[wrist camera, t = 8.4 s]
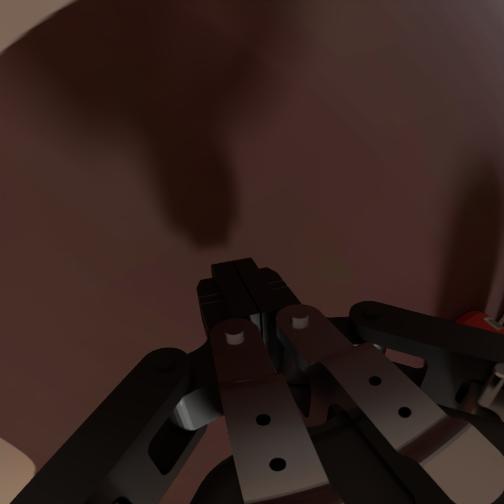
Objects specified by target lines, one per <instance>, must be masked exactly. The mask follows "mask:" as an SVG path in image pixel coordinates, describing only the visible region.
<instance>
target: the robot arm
mask: <svg viewBox="0 0 504 504" xmlns="http://www.w3.org/2000/svg"><path fill="white" fill-rule="evenodd" d="M211 271H212V278H209V279H203V280H200V282H199V284H198V286H197V294H198V300H199V305H200V311H201V316H202V322H203V325H204V329H205V333H206V336H207V340H206V342H205V343H204V344H203V345H202V346H201V347H200V348H198V349H197V350H195V351H193V352H191V353H189V354H186V353H185V352H184V351H182V350H180V349H177V348H161V349H157V350H154V351H152V352H150V353H149V354H147V355H146V356H145V357H144V358H143V359H142V360H141V361H140V362H139V363H138V364H137V365H136V366H135V367H134V369H133V370H132V371H131V372H130V373H129V374H128V375H127V376H126V377H125V378H124V379H123V380H122V381H121V383H120V384H119V385H118V386H117V387H116V388H115V389H114V390H113V391H112V392H111V393H110V394H109V396H108V397H107V398H106V399H105V400H104V401H103V402H102V403H101V404H100V405H99V406H98V407H97V409H96V410H95V411H94V412H93V413H92V414H91V415H90V416H89V417H88V418H87V419H86V420H85V422H84V423H83V424H82V425H81V426H80V427H79V428H78V429H77V430H76V431H75V432H74V434H73V435H72V436H71V437H70V438H69V439H68V440H67V441H66V442H65V443H64V444H63V445H62V447H61V448H60V449H59V450H58V451H57V452H56V453H55V454H54V455H53V456H52V458H51V459H50V460H49V461H48V462H47V463H46V464H45V465H44V466H43V467H42V468H41V470H40V471H39V472H38V473H37V474H36V475H35V476H34V477H33V478H32V479H31V481H30V482H29V483H28V484H27V485H26V486H25V487H24V488H23V489H22V491H21V492H20V493H19V494H18V495H17V496H16V497H15V498H14V499H13V501H12V502H11V503H10V504H158V503H159V502H160V500H161V499H162V497H163V496H164V494H165V493H166V491H167V490H168V488H169V487H170V485H171V484H172V482H173V481H174V479H175V478H176V476H177V475H178V473H179V472H180V470H181V469H182V467H183V466H184V464H185V463H186V461H187V460H188V458H189V457H190V455H191V453H192V452H193V450H194V449H195V447H196V446H197V444H198V442H199V441H200V439H201V438H202V436H203V435H204V433H205V431H206V429H207V424H208V423H210V422H212V421H214V420H216V419H217V418H219V417H221V416H223V415H224V416H225V421H226V426H227V430H228V435H229V440H230V444H231V449H232V453H233V455H231V456H229V457H228V458H226V459H225V460H223V461H222V462H221V463H219V464H218V465H217V466H216V467H214V468H213V469H212V470H211V471H210V472H209V473H208V475H207V476H206V477H205V479H204V480H203V481H202V483H201V485H200V486H199V488H198V490H197V492H196V493H195V495H194V497H193V499H192V501H191V502H190V504H504V334H501V333H497V332H493V331H489V330H485V329H481V328H477V327H473V326H469V325H465V324H461V323H457V322H453V321H449V320H445V319H441V318H437V317H433V316H429V315H425V314H421V313H418V312H414V311H410V310H406V309H402V308H398V307H395V306H391V305H387V304H383V303H379V302H375V301H363V302H359V303H357V304H355V305H353V306H352V307H351V309H350V312H349V317H334V318H328V317H325V316H324V315H323V314H322V313H321V312H320V311H319V310H318V309H316V308H315V307H312V306H309V305H304V304H301V303H300V301H299V300H298V299H297V297H296V296H295V295H294V294H293V292H292V291H291V290H290V288H289V287H287V285H286V283H285V282H284V281H283V280H282V278H281V277H280V276H279V274H278V273H277V272H275V271H273V270H271V269H269V268H267V267H266V268H261V269H259V268H258V267H257V265H256V264H255V262H254V261H253V259H252V258H251V257H250V258H245V259H239V260H234V261H229V262H223V263H218V264H212V265H211ZM386 348H389V349H392V350H396V351H399V352H403V353H406V354H410V355H413V356H417V357H420V358H423V359H424V360H425V361H426V362H427V364H426V365H425V366H424V367H422V368H413V367H410V366H406V365H403V364H399V363H396V362H393V361H391V360H390V359H388V358H387V357H386V356H385V352H386ZM274 368H275V369H274ZM275 370H276V371H275ZM276 372H277V373H276Z"/></svg>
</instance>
